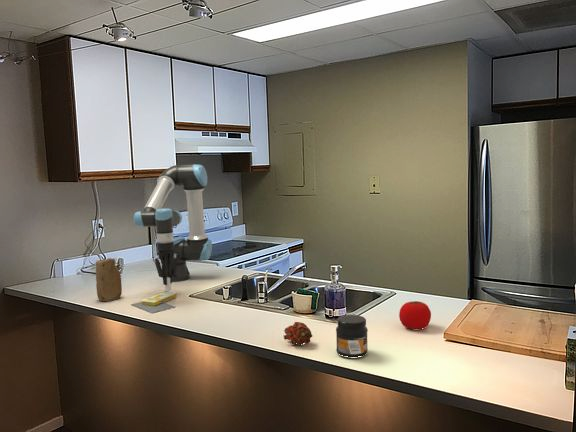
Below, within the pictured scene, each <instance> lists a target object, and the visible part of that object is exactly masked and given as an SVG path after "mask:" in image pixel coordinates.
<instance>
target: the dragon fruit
mask: <svg viewBox="0 0 576 432" xmlns="http://www.w3.org/2000/svg"><path fill="white" fill-rule="evenodd" d="M283 332H284V334H283V339H284V340H285V341H286V340H288V341H290V344H291V345H292V344H295V345H298V344H300V345H299V346H302V345H301V344H303V343H305V344H309V343H310V342H311V338H313V334H312V331H311V329H310V328H309V327H308V326H307V325H306V324H305V323H304V322H300V321H294V323H293V324H291V325H288V327H285V329H284V330H283ZM296 343H297V344H296Z"/></svg>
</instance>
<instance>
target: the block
mask: <svg viewBox="0 0 576 432" xmlns="http://www.w3.org/2000/svg"><path fill="white" fill-rule="evenodd" d="M95 280H96V286H95V287H96V288H95V289H96V294H97V299H98V300H99V301H100V302H112V301H115V300H119V299H120V298H121V297H122V293H123V290H122V289H123V287H122V276H121V272H120V270H119V268H118V266H116V260H115V258H104V259H100V260H97V261H95Z"/></svg>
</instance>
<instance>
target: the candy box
mask: <svg viewBox="0 0 576 432" xmlns="http://www.w3.org/2000/svg"><path fill="white" fill-rule="evenodd" d="M177 297H178V293H177V292H176V293H175V292H174V293H173V292H167V291H165V292H164V291H163V292H160V293H158V294H156V295H153V296H149V297H148V298H145V299H143V300H140V302H141V304H144V305H152V306H155V305H158V304H160V303H163V302H164V303H166V302H168V301H171V300H172V299H175V298H177Z"/></svg>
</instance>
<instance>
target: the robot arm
mask: <svg viewBox="0 0 576 432" xmlns="http://www.w3.org/2000/svg"><path fill="white" fill-rule="evenodd" d="M208 179H209V178H208V174H207V170H206V168H205V166H203V165H202V164H194V163H193V164H175V165H172V166H170V167H168V168H166V169H165V170H164V171H163V172H162V173H161V174H160V175H159V176H158V178H157V180H156V183H157V184H156V186H155V187H154V189H153V191H152V192H151V195H150V197H149V198H148V200H147V202H146V204H145V206H144V208H143V209H142V211H141V210H140V211H136V212H135V213H134V214H133V222H134V225H135V226H136V227H142V228H146V227H147V228H149V227H150V228H151V227H154V228H156V241H157V243H156V247H157V248H156V249H157V254H156V256H155V257H153V258H152V261H153V262H154V263H155V267H156V272H157V274H158V277H159V278H162V284H163V285H164V291H165V292H166V293H171V292H172V287H171V285H172V283H173V282H182V281H186V280H189V279H190V278H191V275H190V271H189V268H188V266H187V261H190V262H191V261H195V262H196V261H198V262H199V261H200V262H202V261H208V260H209V259H210V257H211V256H212V250H213V249H212V248H213V243H212V240H210V239H209V236H208V235H207V234H206V231H205V230H206V229H205V216H204V215H205V214H204V202H203V191H204V190H205V186H207V185H208ZM176 187H182V190H183V191H184V192H185V194H186V195H185V196H186V207H187V221H188V231H189V232H188V233H189V235H188V236H187V238H185V237H184V236H183V237H182V236H181V237H174V230H173V229H174V227H176V226H179V225H180V224H181V222H183V215H182V213H181V212H180V211H178V210H174V209H171V208H163V206H164V204H165V202H166V200H167V198H168V197H169V196H168V195H169V193H170V192H171V191H173V190H174V188H176Z"/></svg>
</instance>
